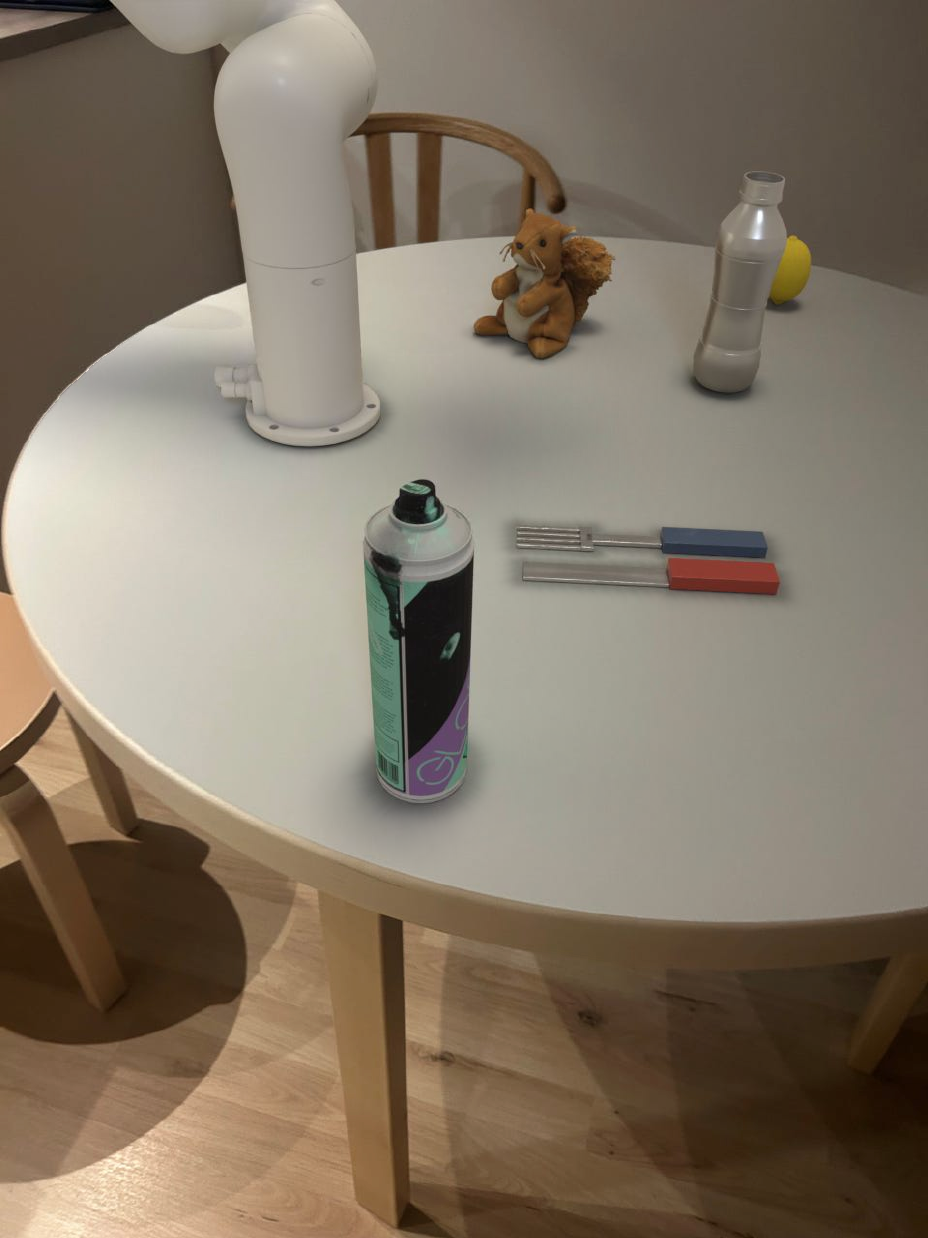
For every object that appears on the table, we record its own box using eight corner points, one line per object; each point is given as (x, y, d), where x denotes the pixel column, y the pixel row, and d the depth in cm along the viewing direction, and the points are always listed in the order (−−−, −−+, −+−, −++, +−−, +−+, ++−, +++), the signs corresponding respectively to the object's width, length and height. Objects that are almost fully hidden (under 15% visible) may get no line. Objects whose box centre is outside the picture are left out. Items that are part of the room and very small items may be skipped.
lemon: (745, 297, 115) (759, 229, 110) (785, 293, 117) (801, 225, 112) (769, 315, 111) (785, 246, 106) (810, 310, 113) (828, 241, 108)
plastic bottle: (707, 403, 94) (750, 190, 82) (677, 373, 99) (714, 168, 86) (765, 396, 96) (817, 186, 83) (733, 367, 101) (777, 164, 88)
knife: (522, 581, 72) (523, 569, 71) (523, 562, 74) (523, 550, 73) (776, 594, 72) (780, 581, 71) (770, 575, 73) (774, 562, 73)
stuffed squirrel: (466, 334, 106) (469, 210, 97) (556, 303, 113) (566, 185, 104) (529, 365, 100) (538, 237, 92) (619, 331, 107) (635, 208, 99)
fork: (516, 548, 75) (517, 537, 75) (517, 527, 78) (517, 517, 77) (766, 560, 75) (768, 549, 74) (759, 539, 77) (762, 529, 76)
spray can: (456, 811, 56) (463, 526, 43) (365, 795, 56) (344, 510, 43) (474, 742, 60) (485, 463, 47) (389, 728, 60) (377, 450, 47)
